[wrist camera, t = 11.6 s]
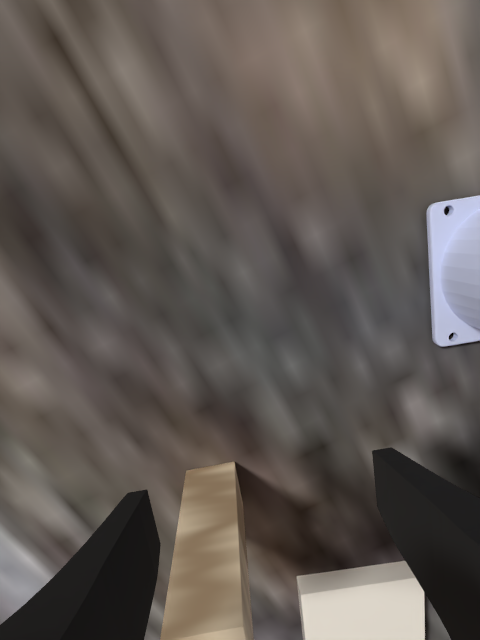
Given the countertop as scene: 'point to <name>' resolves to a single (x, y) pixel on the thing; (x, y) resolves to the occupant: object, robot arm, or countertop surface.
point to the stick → (209, 561)
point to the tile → (362, 604)
